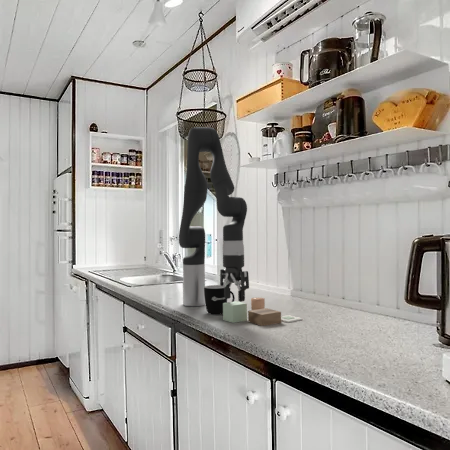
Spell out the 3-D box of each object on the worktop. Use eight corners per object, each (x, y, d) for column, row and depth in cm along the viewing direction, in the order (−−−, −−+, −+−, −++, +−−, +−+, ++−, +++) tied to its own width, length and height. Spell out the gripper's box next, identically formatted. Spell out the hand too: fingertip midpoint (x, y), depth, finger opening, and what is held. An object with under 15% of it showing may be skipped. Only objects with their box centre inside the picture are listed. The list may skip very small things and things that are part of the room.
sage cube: (223, 320, 152) (222, 303, 152) (236, 317, 155) (236, 301, 155) (233, 323, 147) (232, 305, 147) (247, 320, 150) (246, 303, 150)
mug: (208, 316, 158) (208, 288, 158) (201, 312, 166) (201, 285, 166) (238, 313, 162) (238, 286, 162) (230, 309, 170) (230, 284, 170)
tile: (273, 319, 151) (273, 317, 151) (288, 316, 155) (288, 314, 155) (287, 322, 145) (287, 320, 145) (302, 319, 149) (302, 317, 149)
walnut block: (248, 322, 148) (248, 310, 148) (267, 319, 152) (266, 308, 152) (261, 326, 141) (261, 314, 141) (281, 323, 145) (280, 311, 145)
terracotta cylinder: (248, 314, 160) (248, 298, 160) (259, 312, 163) (258, 297, 163) (257, 316, 156) (256, 300, 156) (267, 315, 159) (267, 298, 159)
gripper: (213, 253, 155) (214, 298, 154) (236, 254, 143) (237, 303, 142) (230, 252, 159) (231, 296, 158) (254, 253, 147) (255, 301, 147)
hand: (234, 299), depth 150 cm, fingers open, 8 cm apart
